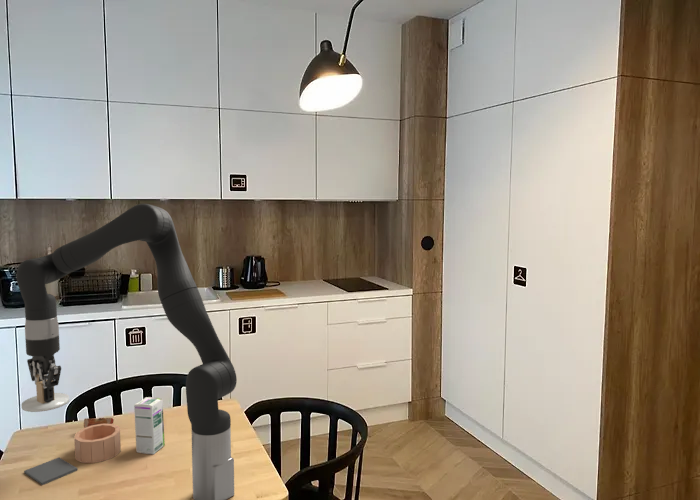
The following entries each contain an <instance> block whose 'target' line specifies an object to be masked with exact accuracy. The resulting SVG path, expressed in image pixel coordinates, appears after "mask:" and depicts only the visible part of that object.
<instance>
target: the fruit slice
mask: <svg viewBox="0 0 700 500" xmlns="http://www.w3.org/2000/svg"><path fill="white" fill-rule="evenodd" d="M114 421H115V420H114V418H113V417H99V418H95V417H94V418H91V417H90V418H84V421H83V428H86V427H89V426H92V425H97V424H114Z"/></svg>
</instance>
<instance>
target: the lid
mask: <svg viewBox="0 0 700 500" xmlns="http://www.w3.org/2000/svg"><path fill="white" fill-rule="evenodd" d="M46 381H47V380H46ZM35 388H36V395H35V396H32V397H30V398H27V399H25V400H24V401H23V402H22V403H21V409H22V411H25V412H28V413H29V412H30V413H41V412H48V411H52V410H56V409H58V408H62V407H63V406H65V405H67V404H68V403H69V402H70V395H68V394H67V393H63V392H54V400H53V401H50V402H45V401H44V391H43V382H42V381H40V382H36V385H35ZM53 388H54V389H55V386H54V387H53Z"/></svg>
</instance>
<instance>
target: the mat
mask: <svg viewBox="0 0 700 500" xmlns="http://www.w3.org/2000/svg"><path fill="white" fill-rule="evenodd" d="M77 471H79V468H78V467H76V466H74V465H73V464H71V463H70V462H68V461H66V460H65V459H63V458H61V457H57V458H54V459H51V460H48V461H46V462H44V463H41V464H38V465H35V466H33V467H30V468H27V469H25V470H23V473H24V474H25V475H27V476H28V477H29V478H31V479H33V480H34V481H36V482H37V483H38V484H40V485H42V486H44V485H46V484H48V483H51V482H53V481H55V480H58V479H61V478H64V477H65V476H68V475H71V474H72V473H74V472H77Z"/></svg>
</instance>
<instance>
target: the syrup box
mask: <svg viewBox="0 0 700 500" xmlns="http://www.w3.org/2000/svg"><path fill="white" fill-rule="evenodd" d="M133 408H134V409H133V410H134V412H133V413H134V430H135V432H134V433H135V448H136V450H135V451H136V453H139V454H145V455H146V454H147V455H155V454H156V453H157V452H158V451H160V450H161V449H162V448H164V447H165V445H166V444H165V443H166V441H165V427H164V426H165V425H164V424H165V423H164V421H165V420H164V401H163V398H160V397H153V396H152V397H151V396H148V397H147V396H146V397H144V398H142V400H140V401H138V402H136V403H134V405H133Z"/></svg>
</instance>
